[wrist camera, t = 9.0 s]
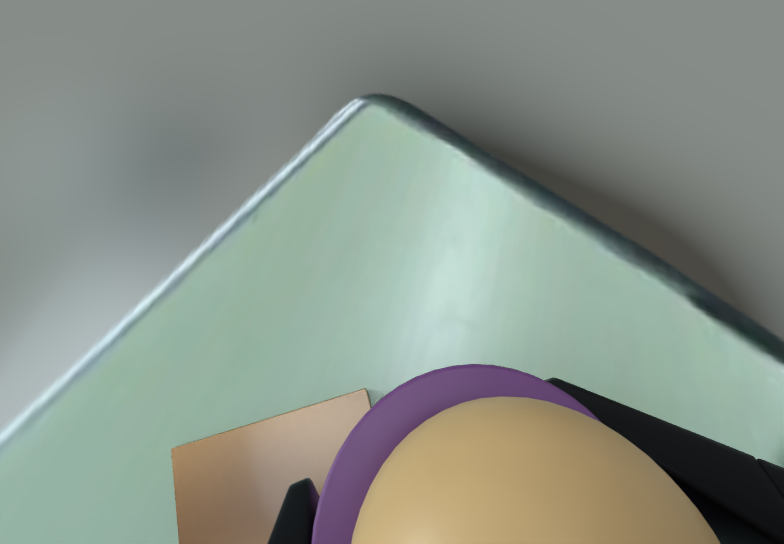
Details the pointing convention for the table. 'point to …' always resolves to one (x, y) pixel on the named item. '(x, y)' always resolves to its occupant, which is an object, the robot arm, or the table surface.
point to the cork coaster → (257, 470)
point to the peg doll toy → (496, 471)
